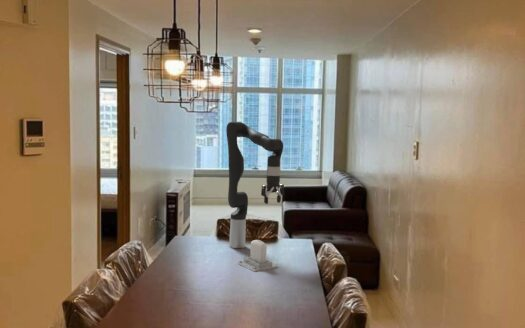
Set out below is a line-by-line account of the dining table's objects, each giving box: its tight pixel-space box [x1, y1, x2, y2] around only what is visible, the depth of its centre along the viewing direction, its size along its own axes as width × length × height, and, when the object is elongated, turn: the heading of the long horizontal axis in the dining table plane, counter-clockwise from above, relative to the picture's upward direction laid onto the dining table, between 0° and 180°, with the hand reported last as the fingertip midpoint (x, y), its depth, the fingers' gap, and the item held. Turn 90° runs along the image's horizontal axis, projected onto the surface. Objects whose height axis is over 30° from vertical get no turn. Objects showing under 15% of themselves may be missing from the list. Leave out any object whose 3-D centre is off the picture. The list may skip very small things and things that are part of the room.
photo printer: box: [249, 239, 267, 263], centre depth 261 cm, size 10×4×12 cm, turn 38°
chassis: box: [237, 256, 279, 272], centre depth 261 cm, size 16×15×3 cm
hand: (272, 203), depth 280 cm, fingers open, 8 cm apart
